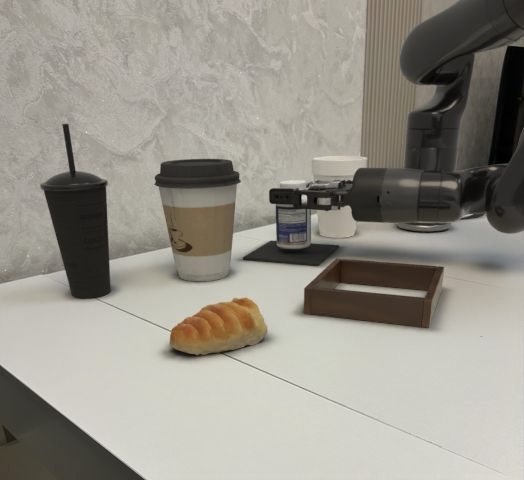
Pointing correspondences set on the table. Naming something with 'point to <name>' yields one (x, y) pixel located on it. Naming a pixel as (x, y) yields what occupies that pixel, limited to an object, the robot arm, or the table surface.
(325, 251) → the mat
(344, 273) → the tray
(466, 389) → the table surface
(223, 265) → the coffee cup
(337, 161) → the foam cup
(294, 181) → the pill bottle
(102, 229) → the drinking cup
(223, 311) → the pastry
